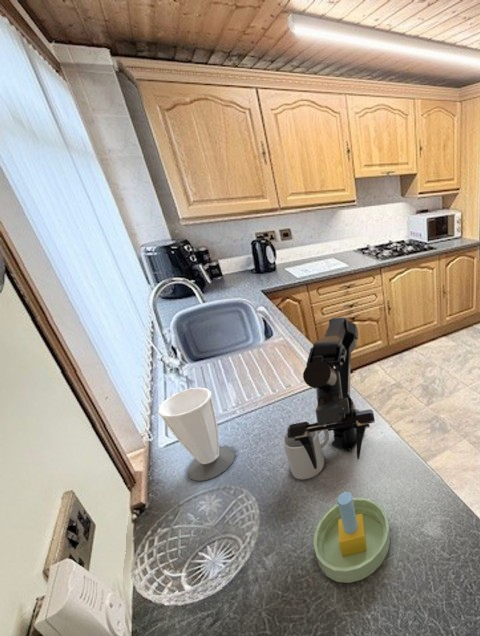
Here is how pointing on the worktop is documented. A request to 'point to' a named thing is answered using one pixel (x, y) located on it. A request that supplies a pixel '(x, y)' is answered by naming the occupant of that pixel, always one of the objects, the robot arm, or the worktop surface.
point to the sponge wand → (350, 527)
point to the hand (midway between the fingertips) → (337, 464)
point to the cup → (197, 431)
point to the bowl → (361, 562)
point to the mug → (305, 455)
